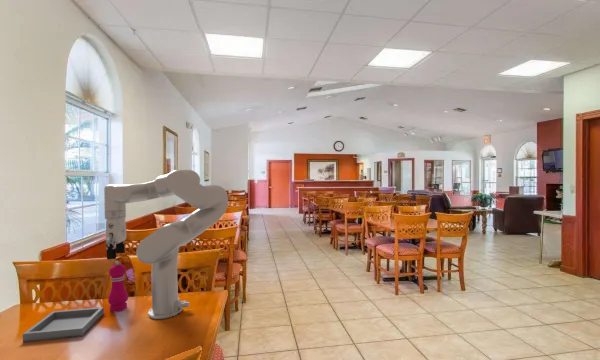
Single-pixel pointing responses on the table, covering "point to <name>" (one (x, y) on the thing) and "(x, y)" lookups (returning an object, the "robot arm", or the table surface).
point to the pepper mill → (117, 288)
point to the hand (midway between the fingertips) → (116, 255)
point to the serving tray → (64, 324)
